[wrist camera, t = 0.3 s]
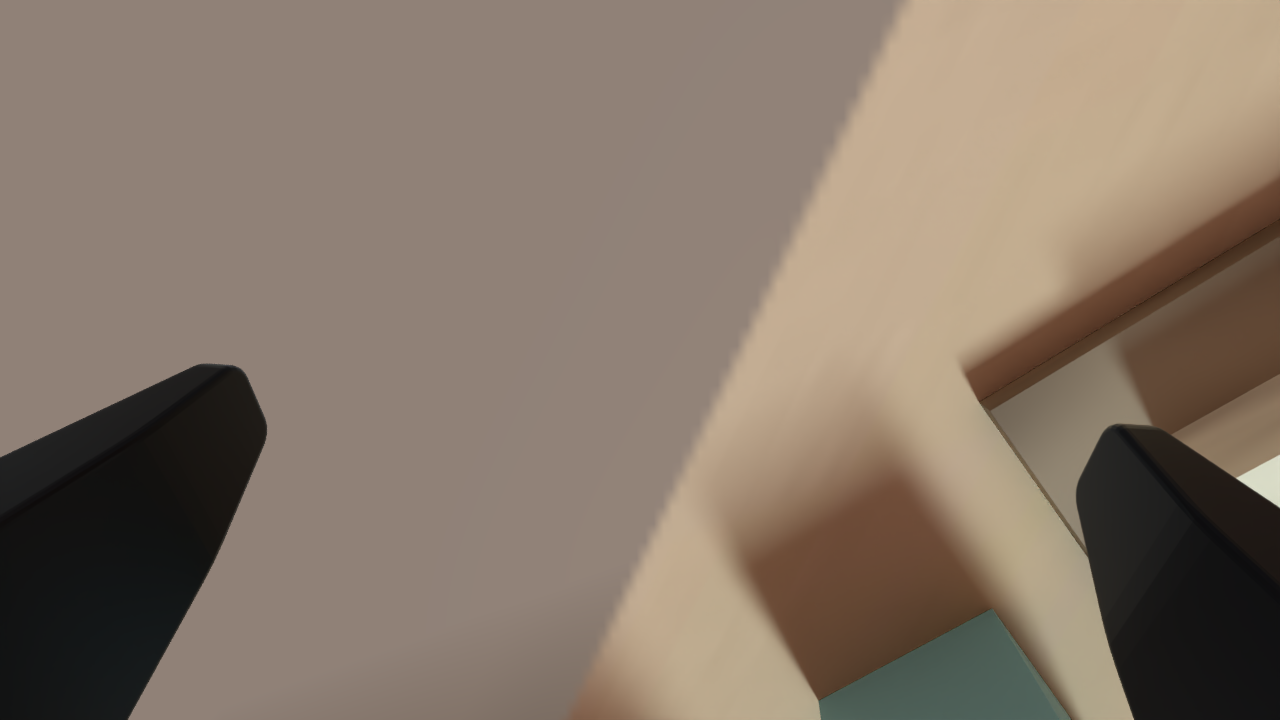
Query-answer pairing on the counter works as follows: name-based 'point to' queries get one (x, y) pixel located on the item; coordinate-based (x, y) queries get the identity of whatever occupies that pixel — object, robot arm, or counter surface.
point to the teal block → (952, 682)
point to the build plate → (1163, 380)
